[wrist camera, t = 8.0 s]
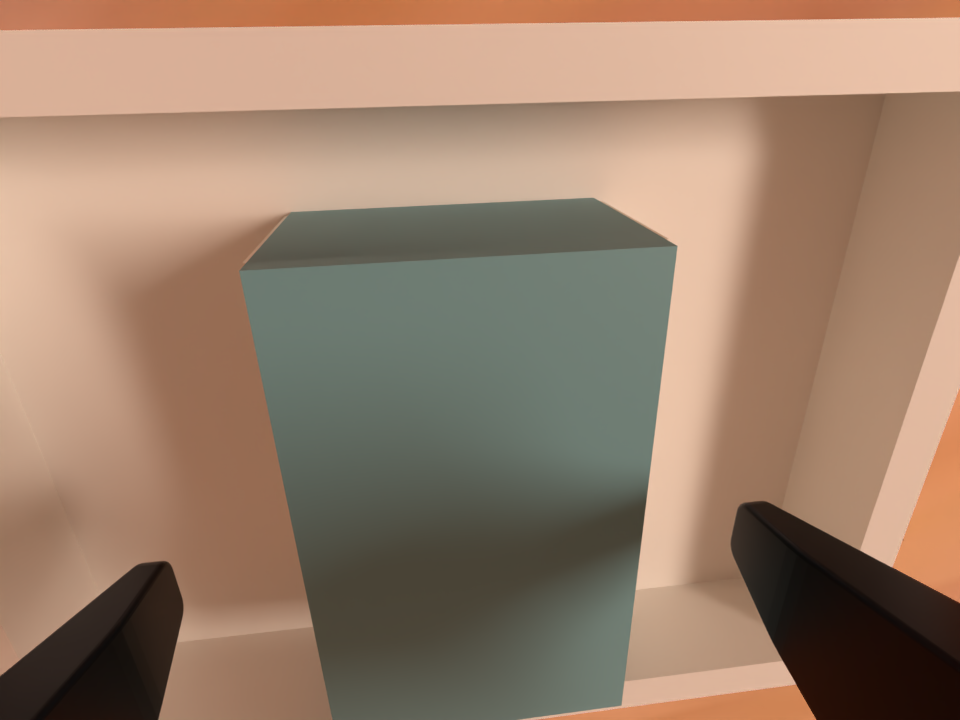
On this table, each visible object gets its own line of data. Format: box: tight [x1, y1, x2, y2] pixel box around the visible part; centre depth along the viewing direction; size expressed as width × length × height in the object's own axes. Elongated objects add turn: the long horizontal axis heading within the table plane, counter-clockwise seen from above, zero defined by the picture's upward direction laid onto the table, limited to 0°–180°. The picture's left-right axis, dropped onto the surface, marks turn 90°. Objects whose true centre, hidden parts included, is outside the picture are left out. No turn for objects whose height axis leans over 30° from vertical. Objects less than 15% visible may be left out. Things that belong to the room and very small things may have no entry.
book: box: [239, 198, 678, 720], centre depth 12 cm, size 10×6×4 cm, turn 1°
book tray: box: [0, 18, 960, 720], centre depth 13 cm, size 15×20×4 cm
